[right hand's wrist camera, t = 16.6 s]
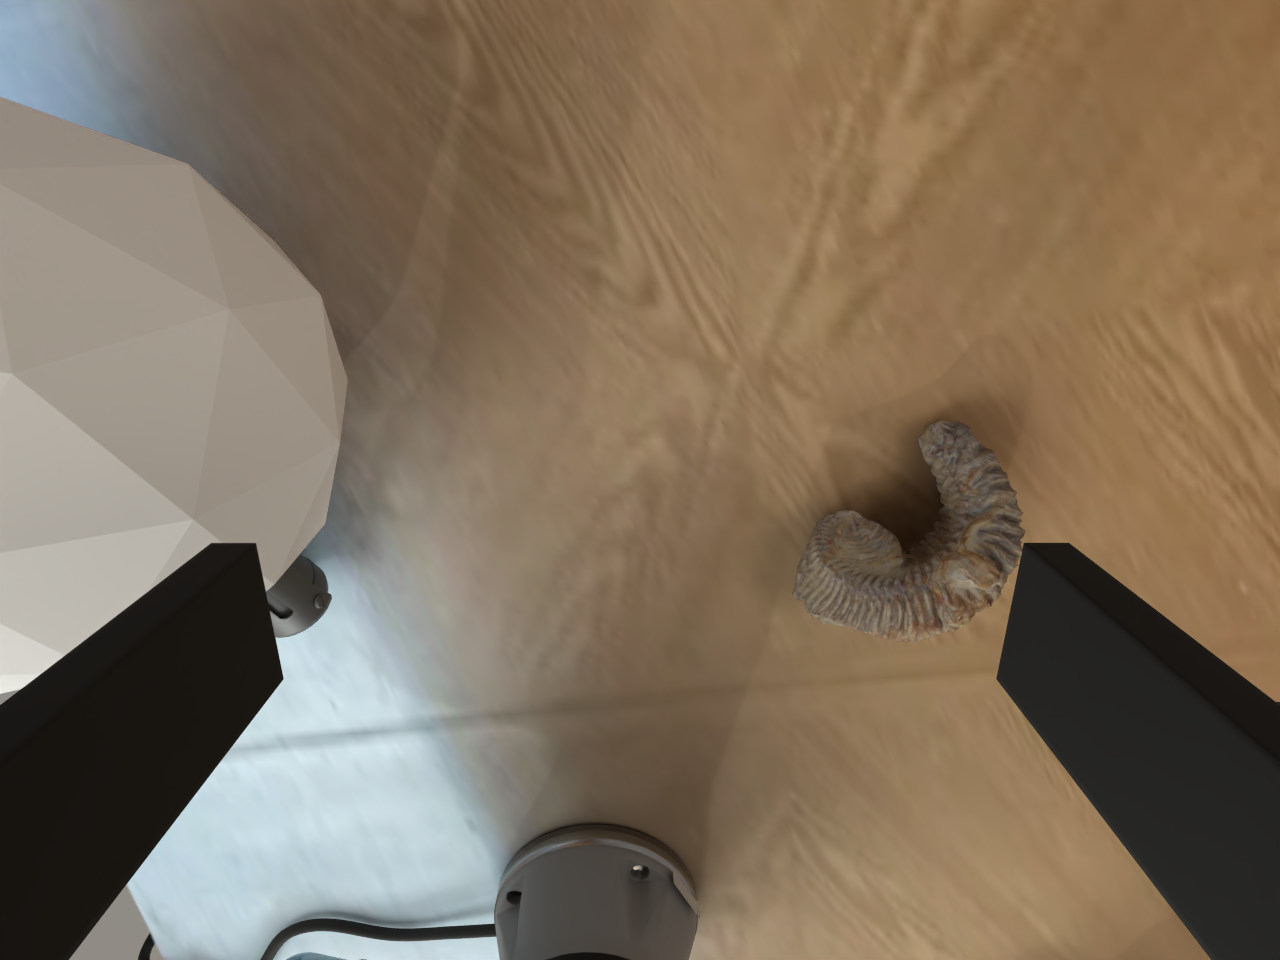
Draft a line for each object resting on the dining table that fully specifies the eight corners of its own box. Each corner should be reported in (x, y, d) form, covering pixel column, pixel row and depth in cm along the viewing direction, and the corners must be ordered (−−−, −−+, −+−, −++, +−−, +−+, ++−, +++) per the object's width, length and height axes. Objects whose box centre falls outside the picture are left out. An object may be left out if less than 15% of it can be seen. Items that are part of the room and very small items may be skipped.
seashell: (782, 565, 50) (825, 696, 43) (752, 470, 43) (797, 606, 36) (978, 507, 48) (1058, 633, 41) (979, 397, 41) (1074, 526, 34)
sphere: (217, -92, 26) (-398, 404, 12) (505, 438, 49) (414, 818, 35) (-245, 27, 31) (-1082, 486, 17) (218, 460, 54) (36, 803, 40)
